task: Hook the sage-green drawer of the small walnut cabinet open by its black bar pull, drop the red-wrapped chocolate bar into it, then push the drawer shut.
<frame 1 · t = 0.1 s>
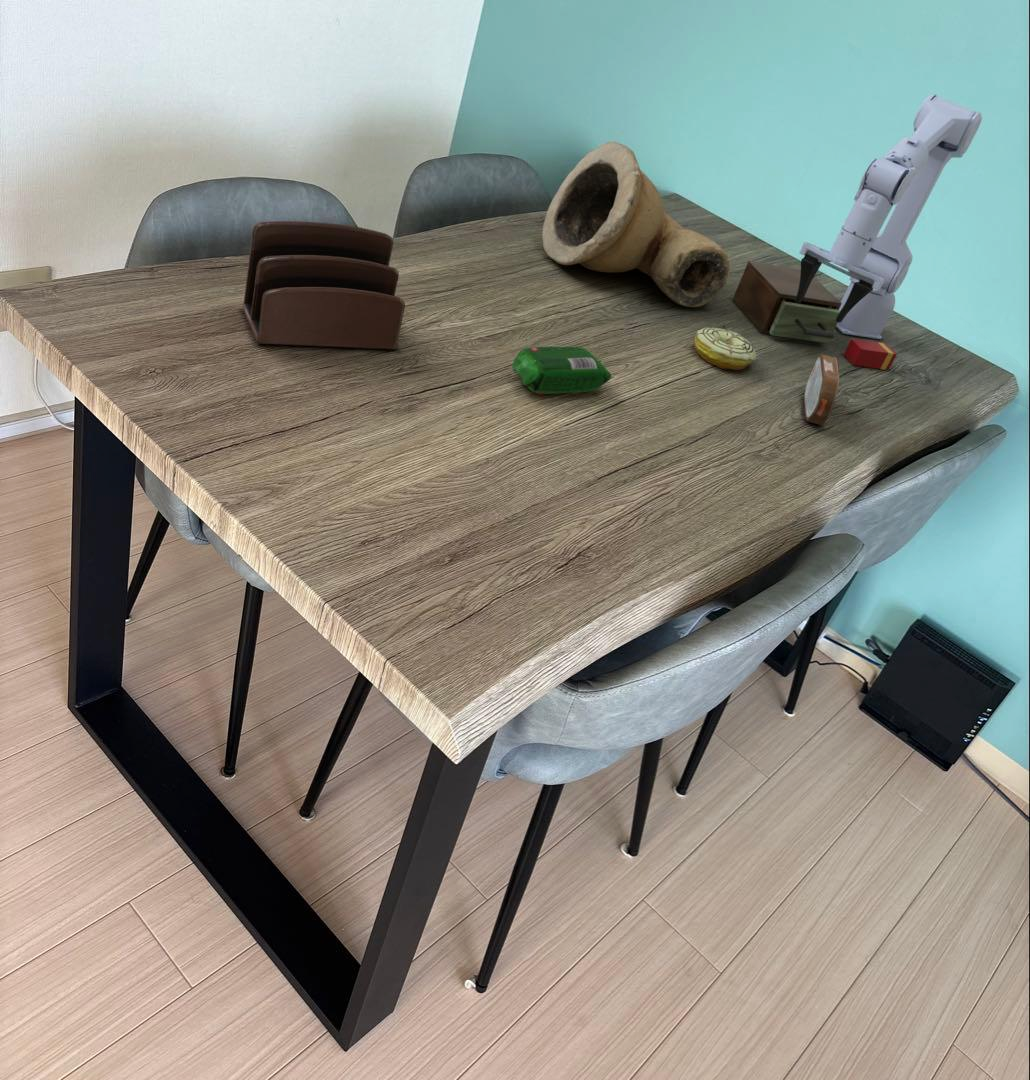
hand: (818, 311, 174), 10 cm above the table, tool pointing down, fingers open, 7 cm apart
letter holder: (319, 332, 144), on the table
tin: (809, 411, 167), on the table
chocolate bar: (865, 362, 190), on the table
decorated donut: (720, 358, 174), on the table
snack package: (557, 386, 150), on the table
cabinet: (776, 320, 195), on the table
pipe: (626, 275, 194), on the table
drawer: (797, 314, 189), point 4 cm above the table, slide at 1.0 cm
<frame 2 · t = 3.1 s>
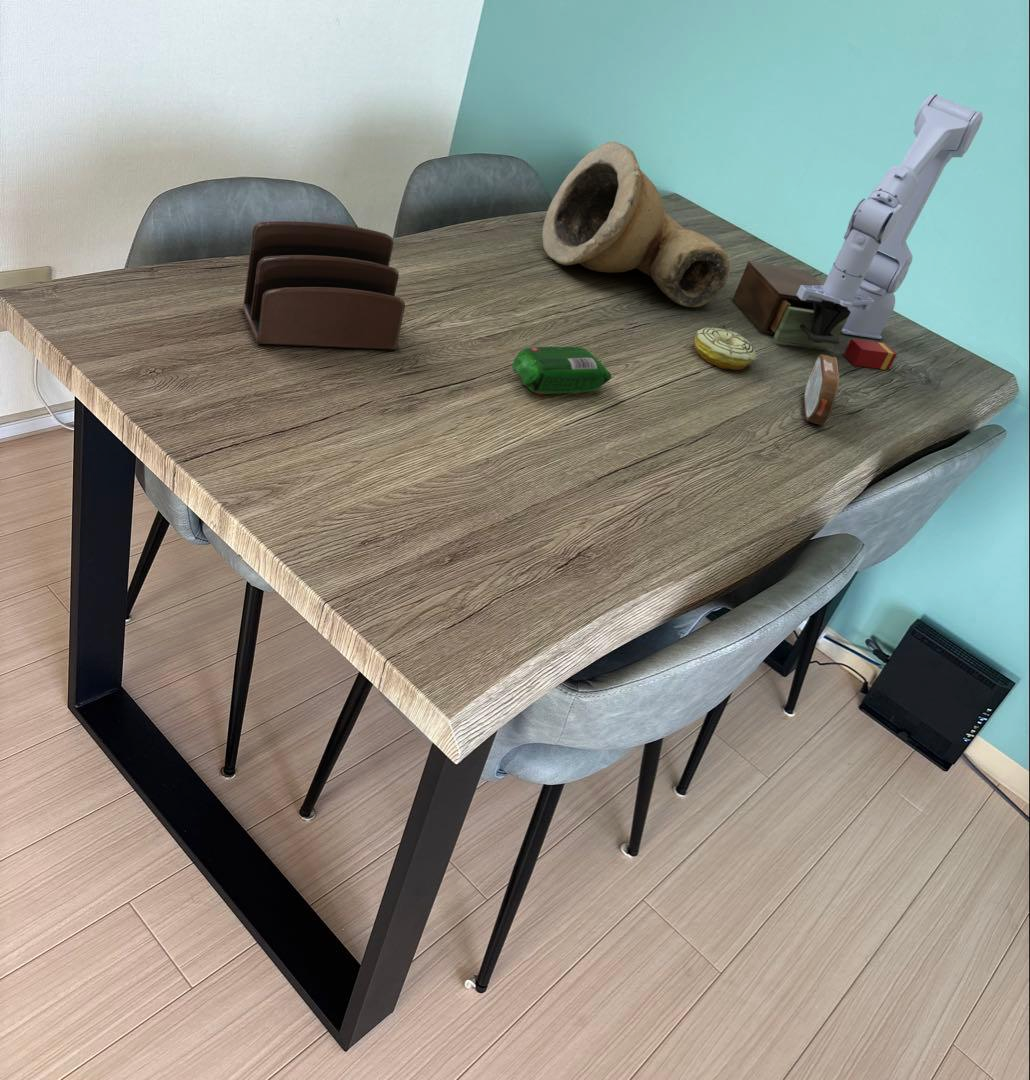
hand: (815, 340, 184), 3 cm above the table, tool pointing down, fingers closed, pressing on drawer
drawer: (802, 319, 188), point 4 cm above the table, slide at 3.0 cm, touching gripper
everything else where it was.
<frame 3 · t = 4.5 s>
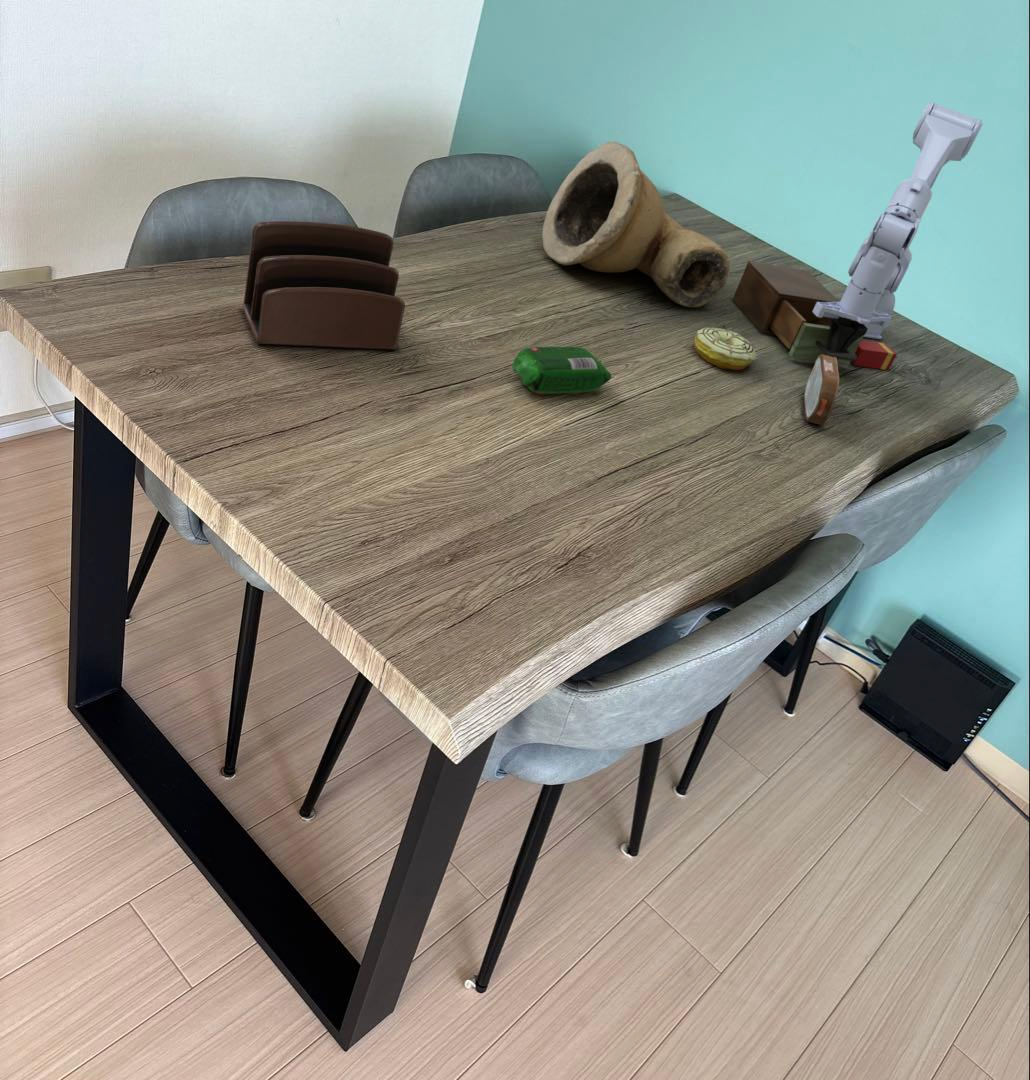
hand: (831, 357, 179), 3 cm above the table, tool pointing down, fingers closed, pressing on drawer
drawer: (817, 335, 183), point 4 cm above the table, slide at 9.1 cm, touching gripper
everything else where it was.
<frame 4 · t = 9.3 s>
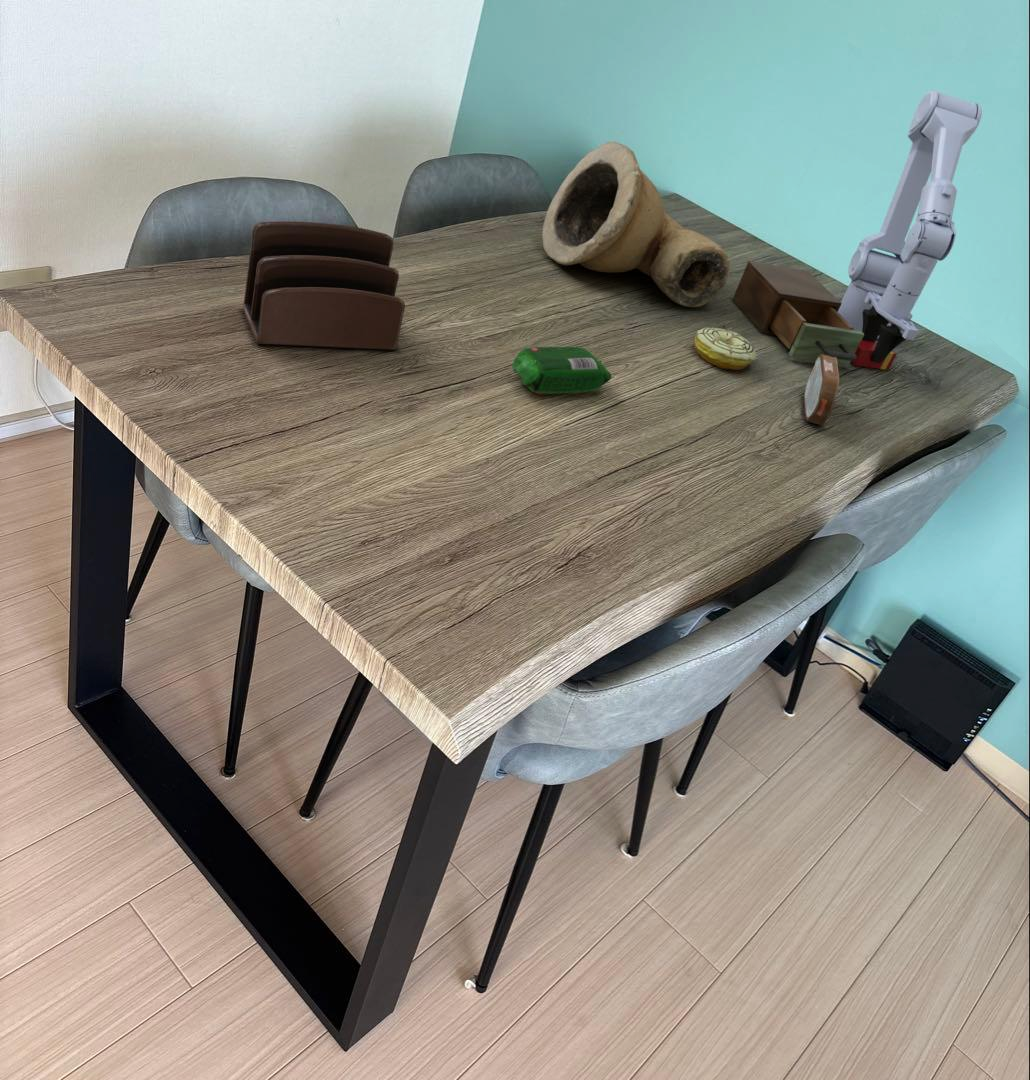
hand: (869, 355, 190), 2 cm above the table, tool pointing down, fingers closed on chocolate bar, 4 cm apart
chocolate bar: (865, 362, 190), on the table, touching gripper
drawer: (818, 335, 183), point 4 cm above the table, slide at 9.1 cm
everything else where it was.
when the fingers open (5 cm above the table, at t = 13.4 s): chocolate bar drops 2 cm, resting on drawer.
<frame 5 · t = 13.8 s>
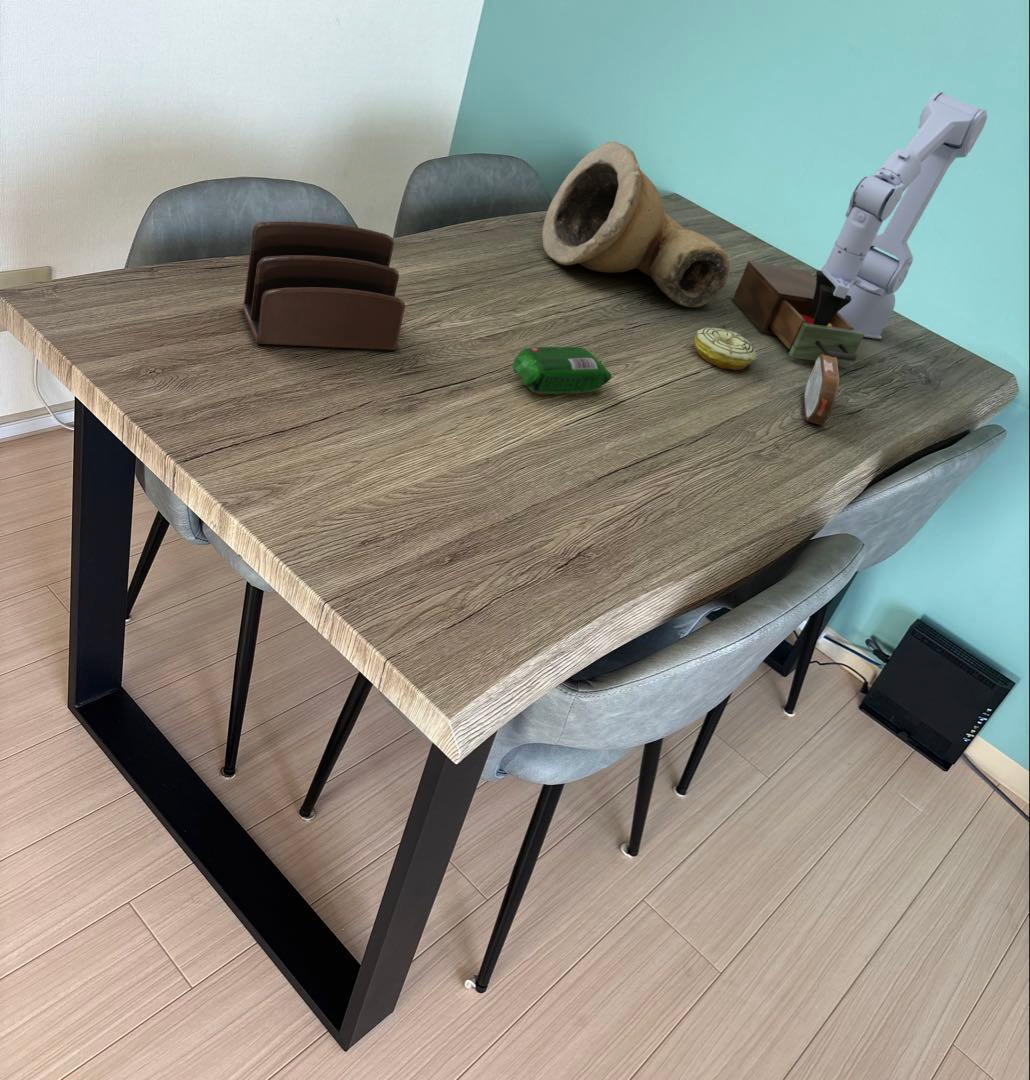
hand: (817, 319, 184), 6 cm above the table, tool pointing down, fingers open, 6 cm apart
chocolate bar: (807, 339, 186), point 2 cm above the table, touching drawer
drawer: (818, 335, 183), point 4 cm above the table, slide at 9.1 cm, touching chocolate bar
everything else where it was.
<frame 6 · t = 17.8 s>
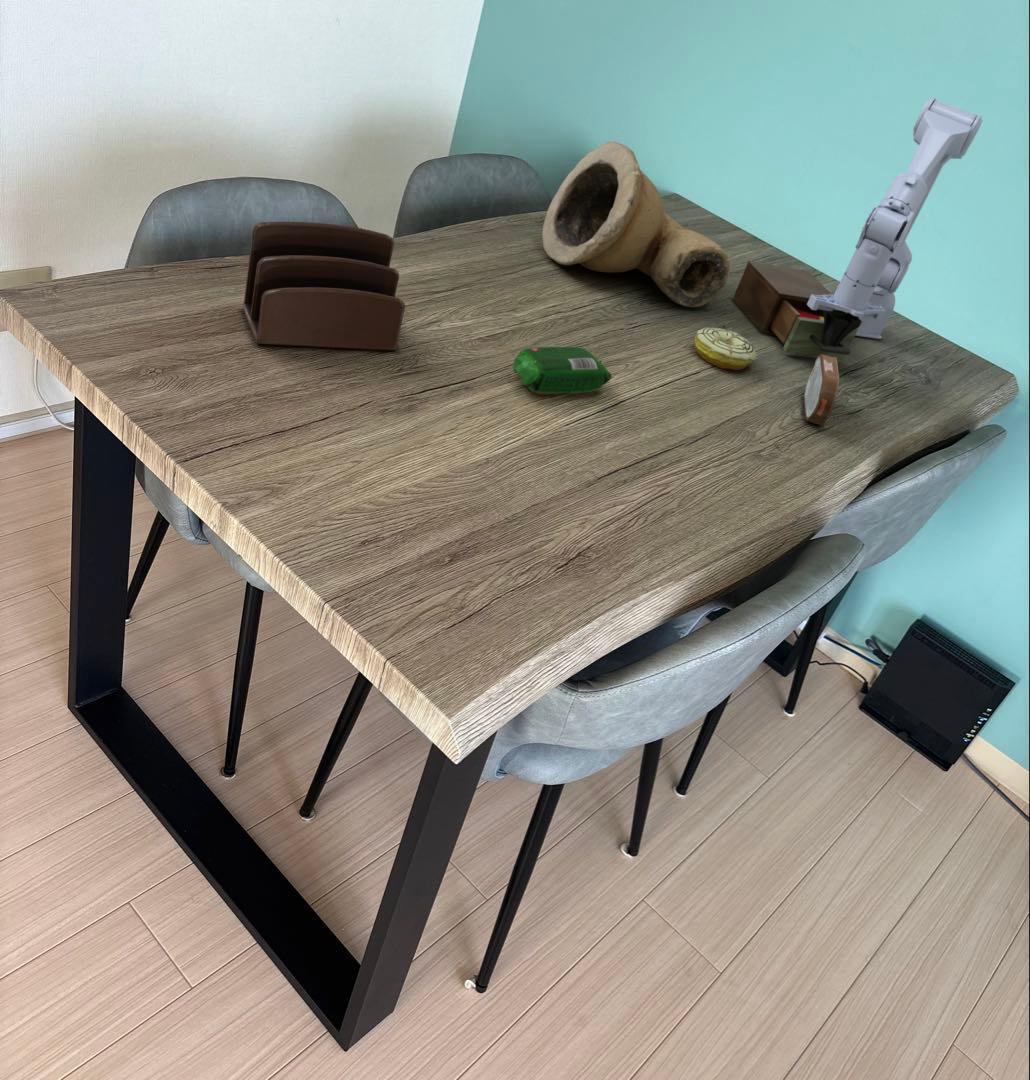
hand: (825, 349, 181), 3 cm above the table, tool pointing down, fingers closed, pressing on drawer
chocolate bar: (802, 333, 188), point 2 cm above the table, touching drawer
drawer: (812, 329, 185), point 4 cm above the table, slide at 6.9 cm, touching chocolate bar, gripper
everything else where it was.
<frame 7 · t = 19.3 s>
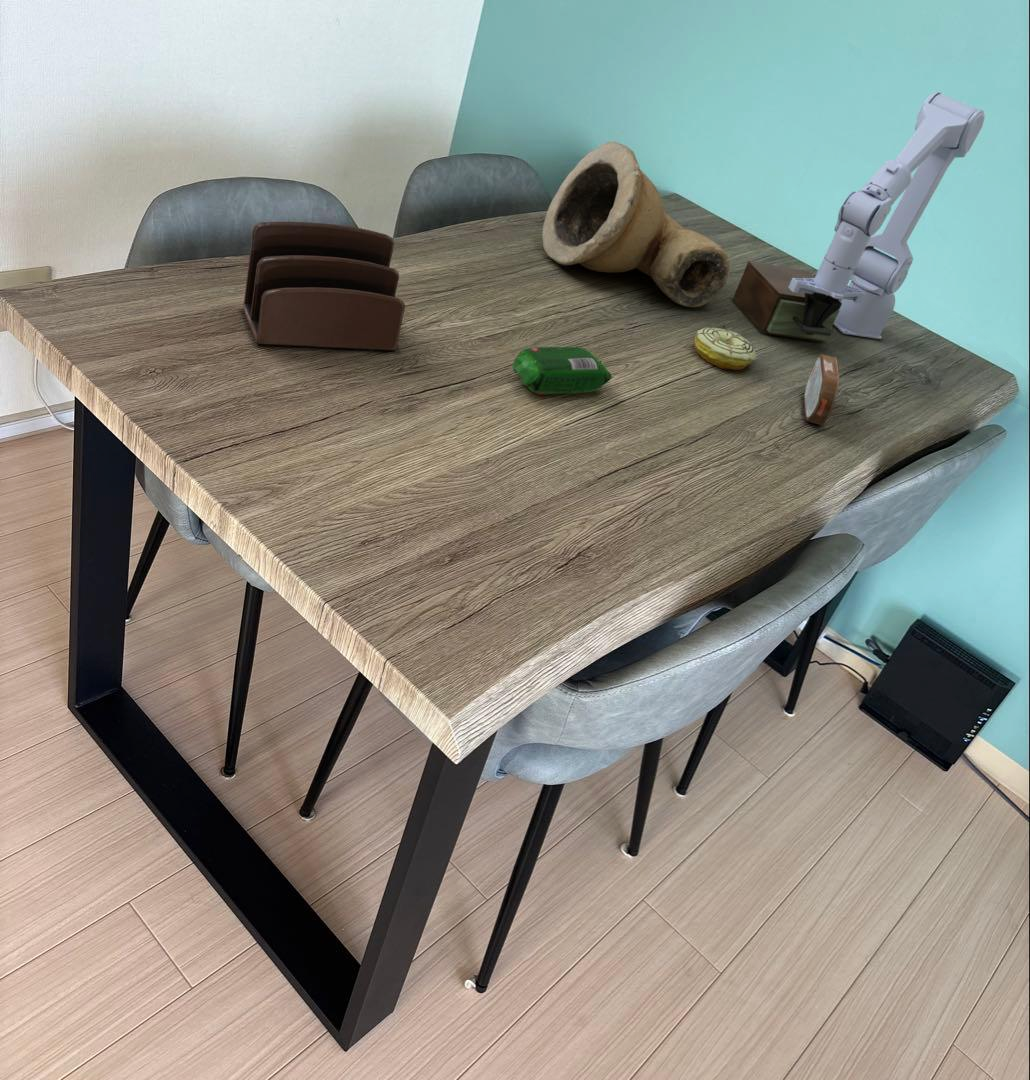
hand: (807, 332, 186), 3 cm above the table, tool pointing down, fingers closed, pressing on drawer
chocolate bar: (785, 315, 193), point 2 cm above the table, touching drawer
drawer: (795, 311, 190), point 4 cm above the table, slide at 0.0 cm, touching cabinet, chocolate bar, gripper
everything else where it was.
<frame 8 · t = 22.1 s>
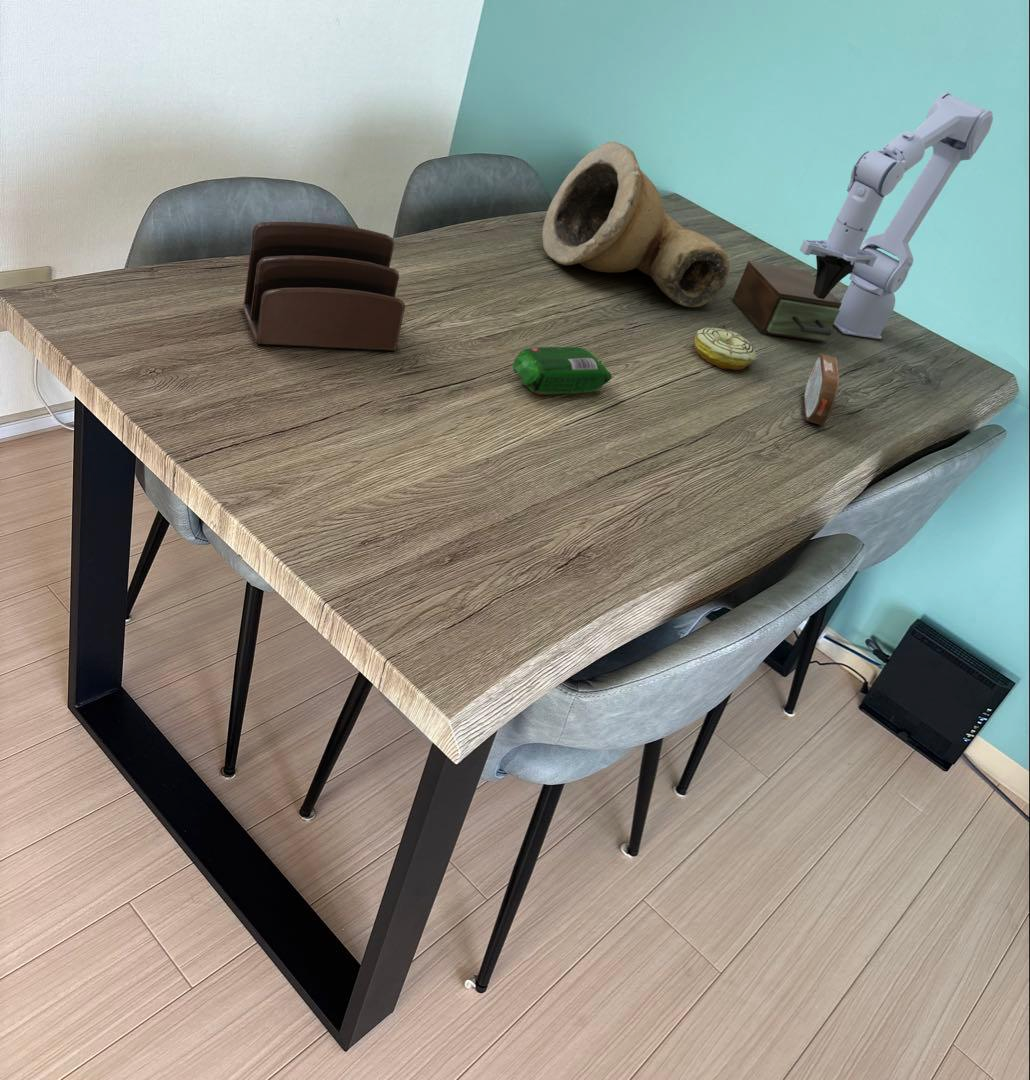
hand: (818, 296, 184), 9 cm above the table, tool pointing down, fingers closed
drawer: (795, 311, 190), point 4 cm above the table, slide at 0.0 cm, touching chocolate bar
everything else where it was.
at the end: drawer pulled out 9.1 cm at the most during the clip, back to where it started at the end; chocolate bar inside the target area in the cabinet (1.9 cm from its centre), point 2.0 cm above the cabinet's base; drawer slide at 0.0 cm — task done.
